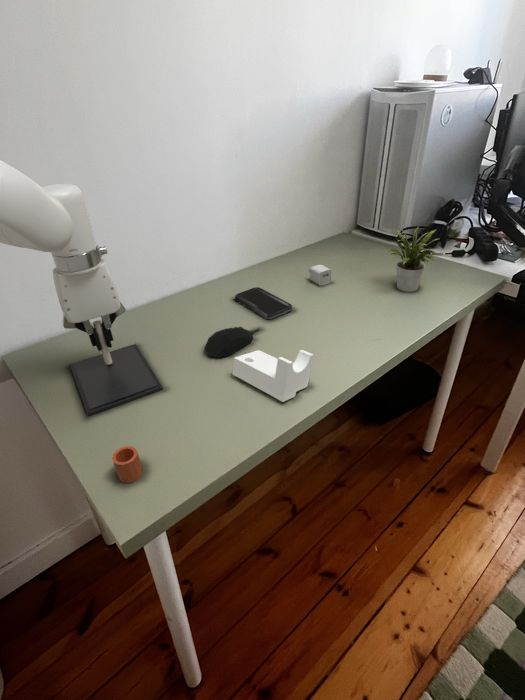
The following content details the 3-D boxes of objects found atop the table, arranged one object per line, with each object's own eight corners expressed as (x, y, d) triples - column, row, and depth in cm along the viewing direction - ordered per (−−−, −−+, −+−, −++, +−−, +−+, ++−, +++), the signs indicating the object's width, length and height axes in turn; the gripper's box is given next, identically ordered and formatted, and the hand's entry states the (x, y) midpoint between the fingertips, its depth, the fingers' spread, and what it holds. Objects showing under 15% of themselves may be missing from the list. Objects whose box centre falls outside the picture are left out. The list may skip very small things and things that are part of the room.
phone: (257, 286, 116) (293, 305, 106) (257, 290, 117) (293, 309, 106) (233, 295, 112) (268, 316, 102) (233, 299, 113) (268, 320, 103)
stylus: (106, 367, 88) (93, 324, 83) (105, 363, 89) (92, 321, 84) (113, 365, 89) (101, 322, 83) (112, 361, 90) (99, 319, 84)
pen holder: (122, 486, 64) (115, 468, 62) (115, 470, 67) (109, 452, 64) (145, 476, 65) (140, 458, 63) (138, 460, 68) (133, 442, 66)
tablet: (88, 416, 77) (86, 412, 77) (70, 367, 91) (69, 363, 90) (163, 389, 83) (162, 385, 82) (136, 346, 96) (135, 343, 96)
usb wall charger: (319, 286, 117) (319, 272, 115) (304, 277, 122) (304, 264, 120) (331, 282, 119) (331, 268, 116) (316, 274, 124) (316, 260, 122)
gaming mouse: (268, 334, 98) (267, 319, 95) (217, 362, 89) (215, 346, 87) (249, 325, 101) (248, 310, 99) (199, 351, 93) (196, 335, 91)
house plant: (373, 298, 110) (380, 235, 101) (375, 275, 121) (381, 217, 112) (433, 301, 107) (445, 237, 98) (429, 278, 118) (440, 218, 109)
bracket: (306, 391, 82) (313, 354, 79) (282, 402, 77) (289, 363, 74) (256, 365, 89) (261, 331, 86) (232, 374, 84) (236, 338, 81)
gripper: (116, 243, 82) (136, 326, 92) (27, 262, 76) (60, 349, 86) (126, 255, 77) (147, 342, 87) (32, 277, 71) (66, 368, 81)
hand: (103, 345), depth 87 cm, fingers closed on stylus, 1 cm apart
